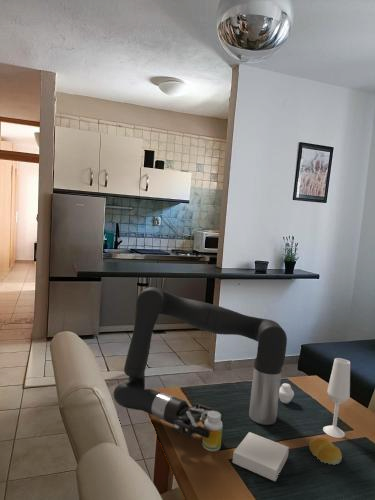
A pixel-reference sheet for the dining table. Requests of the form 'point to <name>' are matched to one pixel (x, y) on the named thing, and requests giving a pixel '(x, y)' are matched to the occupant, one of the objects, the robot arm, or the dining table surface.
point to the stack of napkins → (261, 456)
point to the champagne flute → (338, 392)
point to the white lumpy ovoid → (285, 393)
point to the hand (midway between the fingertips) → (216, 427)
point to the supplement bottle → (213, 431)
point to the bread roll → (325, 451)
